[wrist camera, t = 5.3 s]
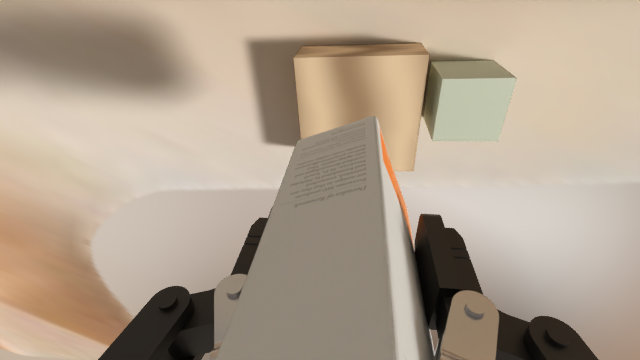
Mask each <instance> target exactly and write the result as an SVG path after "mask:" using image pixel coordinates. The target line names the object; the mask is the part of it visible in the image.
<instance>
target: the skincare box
mask: <svg viewBox="0 0 640 360" xmlns="http://www.w3.org/2000/svg"><path fill="white" fill-rule="evenodd" d="M434 355H435V353H434V348H433V342H432V337H431V331H430V329H429V328H428V322H427V317H426V311H425V306H424V300H423V295H422V289H421V284H420V279H419V273H418V267H417V262H416V257H415V251H414V241H413V236H412V230H411V225H410V219H409V214H408V209H407V206H406V204H405V201H404V198H403V195H402V193H401V190H400V187H399V184H398V181H397V179H396V176H395V173H394V170H393V167H392V164H391V161H390V158H389V155H388V151H387V148H386V145H385V142H384V139H383V135H382V132H381V129H380V125H379V122H378V119H377V117H376V116H369V117H367V118H364V119H361V120H358V121H355V122H352V123H349V124H346V125H343V126H340V127H337V128H335V129H331V130H328V131H325V132H322V133H319V134H316V135H313V136H309V137H306V138H303V139H300V140H298V141H297V143H296V146H295V148H294V151H293V154H292V156H291V159H290V162H289V165H288V167H287V170H286V173H285V175H284V178H283V181H282V183H281V186H280V189H279V191H278V194H277V197H276V200H275V202H274V205H273V208H272V210H271V213H270V216H269V218H268V221H267V224H266V226H265V229H264V232H263V234H262V237H261V240H260V243H259V245H258V248H257V251H256V254H255V256H254V259H253V261H252V264H251V267H250V269H249V272H248V275H247V278H246V280H245V283H244V285H243V288H242V291H241V294H240V296H239V299H238V302H237V305H236V307H235V310H234V313H233V315H232V318H231V320H230V323H229V325H228V328H227V330H226V333H225V336H224V339H223V341H222V344H221V346H220V349H219V351H218V354H217V357H216V360H434Z"/></svg>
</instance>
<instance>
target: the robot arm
mask: <svg viewBox="0 0 640 360" xmlns="http://www.w3.org/2000/svg"><path fill="white" fill-rule="evenodd" d="M272 208H273V207H272ZM271 210H272V209H271ZM270 213H271V211H270ZM269 216H270V214H269ZM268 218H269V217H268ZM268 218H259V219H258V220H257V221H256V222H255V223H254V224H253V225H252V226H251V228H250V231H249V233H248V237H247V238H246V240H245V243H244V245H243V247H242V250H241V252H240V254H239V257H238V259H237V262H236V264H235V266H234V269H233V271H232V273H231V275H230V276H228V277H226V278H224V279H223V280H222V281H221V282H220V283H219V284H218V285H217V287H216V288H215V289H212V290H209V291H204V292H199V293H195V294H189V292H188V290H187V289H185V288H184V287H180V286H172V287H168V288H165V289H163V290H161V291H159V292H158V293H157V294H155V295H154V296H153V297H152V298H151V299H150V301H149V302H148V303H147V304H146V305H145V306H144V307H143V309H142V310H141V311H140V312H139V313H138V315H137V316H136V317H135V318H134V319H133V320H132V321H131V322H130V323H129V325H128V326H127V327H126V328H125V329H124V330H123V332H122V333H121V334H120V335H119V336H118V337H117V338H116V340H115V341H114V342H113V343H112V344H111V345H110V347H109V348H108V349H107V350H106V351H105V352H104V353H103V355H102V356H101V357H100V358H99V359H98V360H201V359H202V357H203V356H204V354H205V353H209V352H211V354H210V360H216V357H217V354H218V351H219V349H220V346H221V344H222V341H223V339H224V336H225V333H226V330H227V328H228V325H229V323H230V320H231V318H232V315H233V313H234V310H235V307H236V305H237V302H238V299H239V296H240V294H241V291H242V288H243V285H244V283H245V280H246V278H247V275H248V272H249V269H250V267H251V264H252V261H253V259H254V256H255V254H256V251H257V248H258V245H259V243H260V240H261V237H262V234H263V232H264V229H265V226H266V224H267V221H268ZM414 251H415V257H416V262H417V267H418V273H419V279H420V284H421V289H422V295H423V300H424V306H425V311H426V317H427V322H428V328H429V329H432V330H437V332H438V338H439V341H438V344H437V347H436V351H435V355H434V360H598V359H597V357H596V356H595V355H594V354H593V352H592V351H591V350H590V349H589V347H588V346H587V345H586V344H585V342H584V341H583V340H582V339H581V338H580V336H579V335H578V334H577V333H576V331H574V330H573V329H572V328H571V327H570V326H569V325H567V324H565V323H564V322H562V321H560V320H558V319H556V318H552V317H549V316H539V317H535V318H534V319H532V320H531V322H527V321H524V320H521V319H518V318H515V317H512V316H510V315H507V314H505V313H503V312H501V311H499V310H498V309H497V308H496V306H495V305H494V304H493V302H492V301H491V300H490V299H488V298H487V297H486V296H484V295H483V293H482V290H481V287H480V285H479V282H478V279H477V276H476V273H475V271H474V268H473V265H472V263H471V260H470V257H469V254H468V251H467V250H466V246H465V243H464V240H463V238H462V237H461V236H460V235H459V234H458V232H457V231H456V230H455V229H454V228H445V227H444V224H443V221H442V218H441V216H440V215H434V214H421V215H420V218H419V222H418V228H417V233H416V238H415V246H414Z"/></svg>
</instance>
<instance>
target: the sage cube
mask: <svg viewBox="0 0 640 360" xmlns="http://www.w3.org/2000/svg"><path fill="white" fill-rule="evenodd" d="M516 79H517V78H516V77H515V76H514V75H512V74H511V73H510V72H508V71H507V70H506V69H505V68H503V67H502V66H501V65H499V64H498V63H497V62H495V61H494V60H481V61H434V62H431V67H430V74H429V81H428V88H427V95H426V102H425V109H424V120H425V122H426V125H427V128H428V131H429V133H430V136H431V139H432V141H479V142H498V140H499V137H500V133H501V130H502V126H503V123H504V120H505V116H506V113H507V109H508V106H509V103H510V99H511V96H512V92H513V89H514V86H515V82H516Z"/></svg>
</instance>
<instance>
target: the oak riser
mask: <svg viewBox="0 0 640 360" xmlns="http://www.w3.org/2000/svg"><path fill="white" fill-rule="evenodd" d="M293 59H294V70H295V80H296V91H297V102H298V112H299V123H300V134H301V139H303V138H306V137H309V136H313V135H316V134H319V133H322V132H325V131H328V130H331V129H335V128H337V127H340V126H343V125H346V124H349V123H352V122H355V121H358V120H361V119H364V118H367V117H369V116H376V117H377V119H378V122H379V125H380V129H381V132H382V135H383V139H384V142H385V145H386V148H387V151H388V155H389V158H390V161H391V164H392V167H393V170H394V171H414V164H415V157H416V149H417V142H418V134H419V127H420V120H421V112H422V105H423V98H424V90H425V83H426V76H427V68H428V61H429V53H428V52H427V51H426V49H425V48H424V46H423V45H422V43H409V44H374V45H339V46H304V47H301V49H300V50H299V51H298V53H297V54H296V55H295V57H294V58H293Z"/></svg>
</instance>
